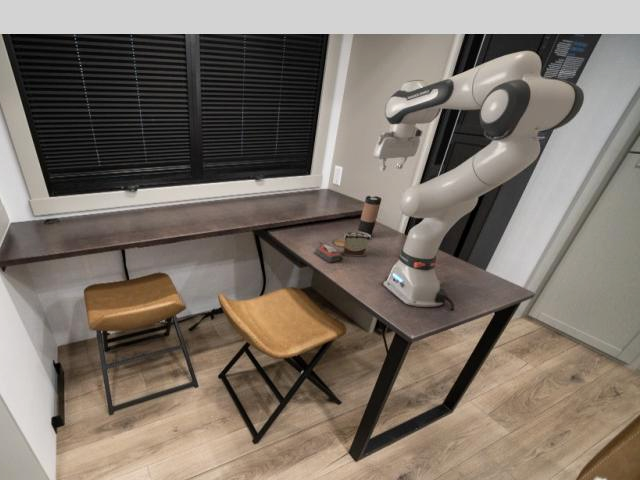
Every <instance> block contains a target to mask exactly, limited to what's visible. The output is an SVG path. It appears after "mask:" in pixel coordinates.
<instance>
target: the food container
mask: <svg viewBox="0 0 640 480" xmlns="http://www.w3.org/2000/svg"><path fill="white" fill-rule="evenodd" d="M343 239H345V243H344V247H343V252H342V253H343V256H355V257H365V254H366V252H367V248H368V246H369V243H370V241H372V235H369V234H367V233H364V232H360V231H358V230H350V231H347V232H346V233H344V235H343Z"/></svg>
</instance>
